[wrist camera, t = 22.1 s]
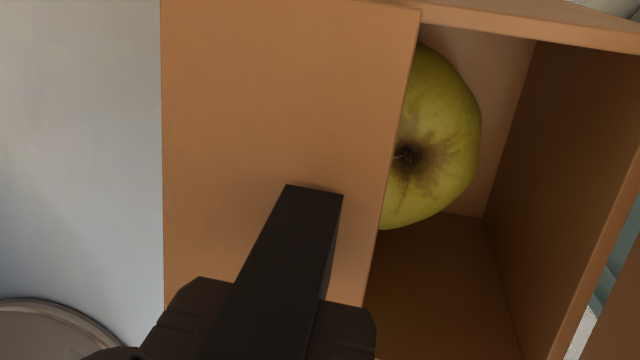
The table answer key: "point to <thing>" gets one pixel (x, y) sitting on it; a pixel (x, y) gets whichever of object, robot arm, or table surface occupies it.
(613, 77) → the carton
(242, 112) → the flap
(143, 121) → the table surface
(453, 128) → the apple
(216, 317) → the robot arm
